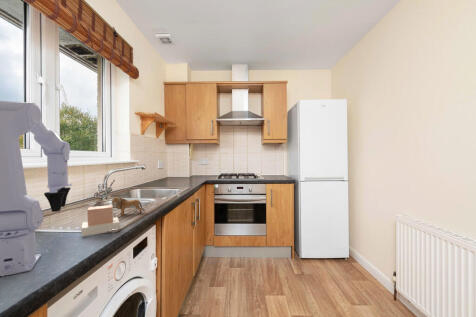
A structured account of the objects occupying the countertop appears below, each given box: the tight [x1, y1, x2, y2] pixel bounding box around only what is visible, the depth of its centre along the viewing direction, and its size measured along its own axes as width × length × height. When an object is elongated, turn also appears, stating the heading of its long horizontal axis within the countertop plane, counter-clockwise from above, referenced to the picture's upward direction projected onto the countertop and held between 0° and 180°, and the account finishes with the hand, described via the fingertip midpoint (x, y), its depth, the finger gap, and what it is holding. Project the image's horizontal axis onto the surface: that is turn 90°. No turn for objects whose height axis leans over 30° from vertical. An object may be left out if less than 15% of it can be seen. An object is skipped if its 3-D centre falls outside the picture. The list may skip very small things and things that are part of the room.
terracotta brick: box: [87, 204, 114, 226], centre depth 83 cm, size 4×8×6 cm, turn 119°
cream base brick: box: [81, 216, 120, 238], centre depth 83 cm, size 8×12×4 cm, turn 124°
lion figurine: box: [111, 196, 146, 216], centre depth 106 cm, size 15×5×9 cm, turn 121°
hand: (58, 208), depth 79 cm, fingers open, 7 cm apart
